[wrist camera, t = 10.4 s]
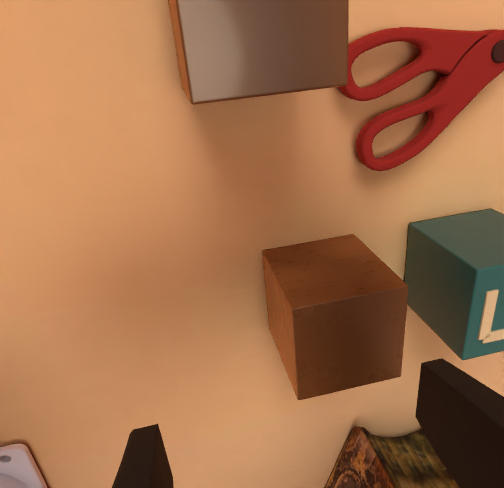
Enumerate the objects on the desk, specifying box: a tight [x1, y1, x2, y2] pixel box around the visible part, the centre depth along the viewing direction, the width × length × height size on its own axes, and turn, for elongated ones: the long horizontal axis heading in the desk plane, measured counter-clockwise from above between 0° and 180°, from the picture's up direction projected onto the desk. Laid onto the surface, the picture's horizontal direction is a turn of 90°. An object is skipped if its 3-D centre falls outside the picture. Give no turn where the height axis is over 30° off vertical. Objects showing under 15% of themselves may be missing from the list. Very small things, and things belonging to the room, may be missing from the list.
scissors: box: [339, 27, 504, 171], centre depth 17 cm, size 5×14×1 cm, turn 113°
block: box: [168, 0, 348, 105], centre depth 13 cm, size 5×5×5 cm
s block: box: [404, 209, 504, 360], centre depth 19 cm, size 5×5×5 cm
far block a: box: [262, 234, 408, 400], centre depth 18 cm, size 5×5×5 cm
